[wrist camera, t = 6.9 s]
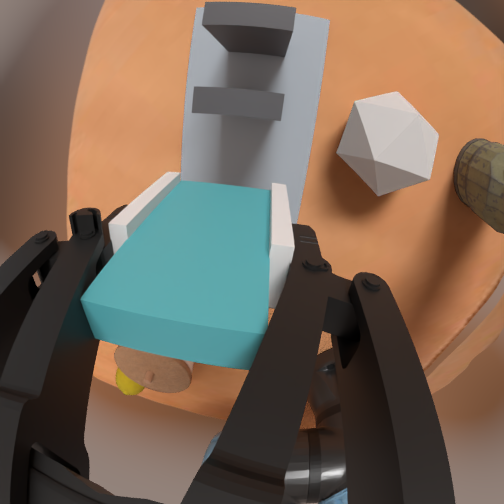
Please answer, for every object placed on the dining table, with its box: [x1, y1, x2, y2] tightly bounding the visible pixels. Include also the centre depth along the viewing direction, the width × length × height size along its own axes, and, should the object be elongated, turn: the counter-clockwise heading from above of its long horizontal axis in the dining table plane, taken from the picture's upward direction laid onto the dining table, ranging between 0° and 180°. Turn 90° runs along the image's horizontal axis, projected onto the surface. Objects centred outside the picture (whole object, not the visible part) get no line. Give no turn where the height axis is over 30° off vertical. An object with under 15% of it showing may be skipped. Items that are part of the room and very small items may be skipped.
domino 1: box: [202, 2, 296, 57], centre depth 15 cm, size 2×5×10 cm, turn 84°
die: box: [336, 92, 439, 196], centre depth 20 cm, size 8×9×10 cm
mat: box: [181, 7, 330, 224], centre depth 25 cm, size 30×12×1 cm, turn 173°
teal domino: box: [80, 180, 271, 370], centre depth 11 cm, size 2×5×10 cm, turn 84°
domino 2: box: [192, 86, 285, 121], centre depth 18 cm, size 2×5×10 cm, turn 83°
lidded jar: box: [114, 345, 194, 393], centre depth 35 cm, size 11×11×9 cm
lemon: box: [116, 367, 145, 395], centre depth 40 cm, size 6×6×8 cm
